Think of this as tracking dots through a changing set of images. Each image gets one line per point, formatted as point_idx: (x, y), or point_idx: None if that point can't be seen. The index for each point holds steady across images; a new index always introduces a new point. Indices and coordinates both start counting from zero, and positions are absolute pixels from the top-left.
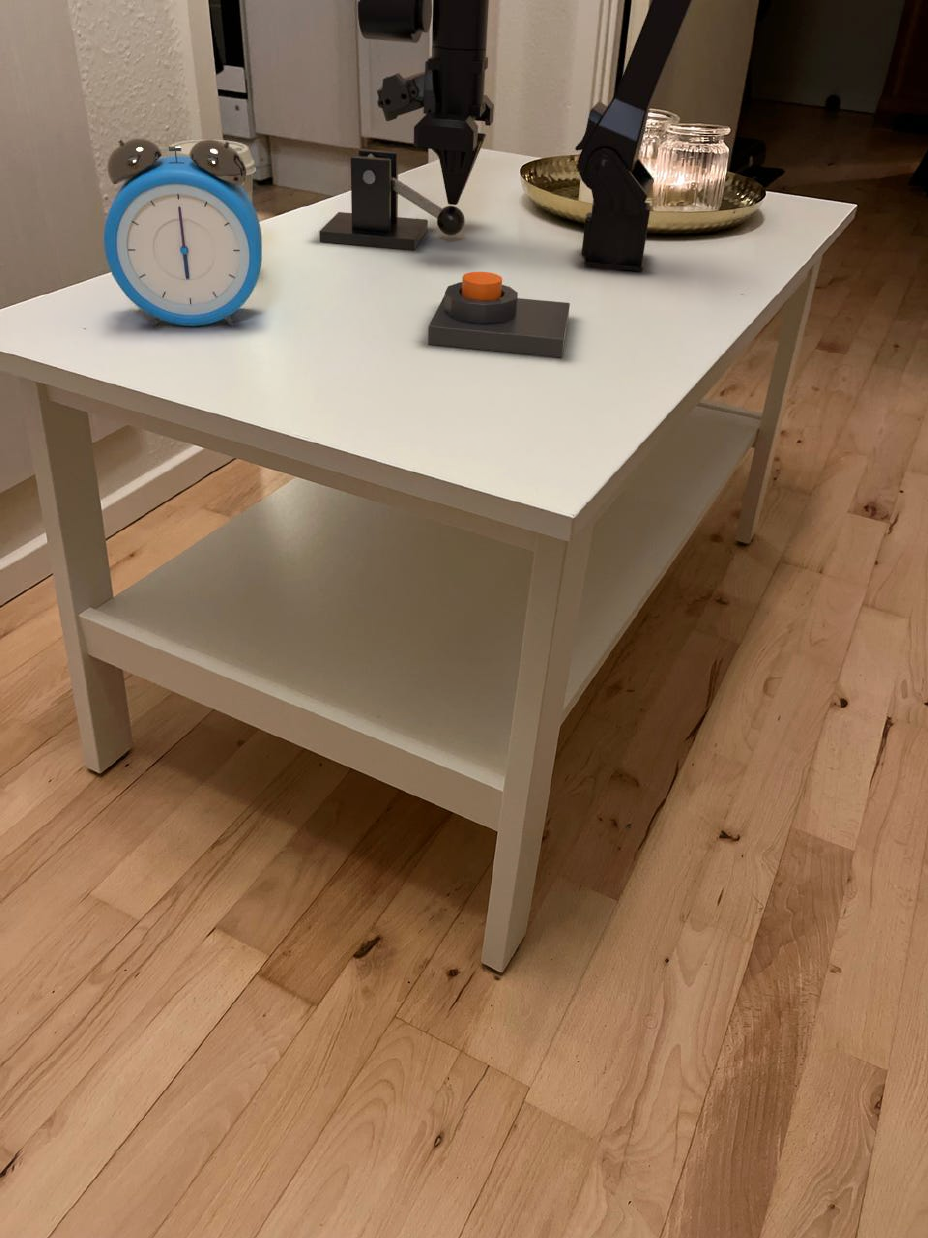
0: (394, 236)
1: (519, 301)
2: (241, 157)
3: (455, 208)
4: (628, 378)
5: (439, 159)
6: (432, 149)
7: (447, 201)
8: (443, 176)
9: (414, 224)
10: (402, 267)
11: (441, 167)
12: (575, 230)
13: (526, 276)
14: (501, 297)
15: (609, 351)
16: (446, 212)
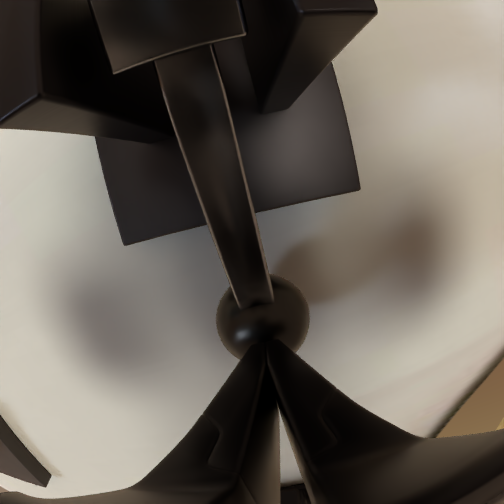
0: (118, 181)
1: (7, 453)
2: None
3: None
4: (13, 484)
5: (150, 473)
6: (80, 497)
7: (250, 346)
8: (206, 411)
9: (282, 173)
10: (26, 269)
11: (182, 441)
12: (439, 425)
13: (138, 452)
14: None
15: (32, 486)
16: (229, 332)
